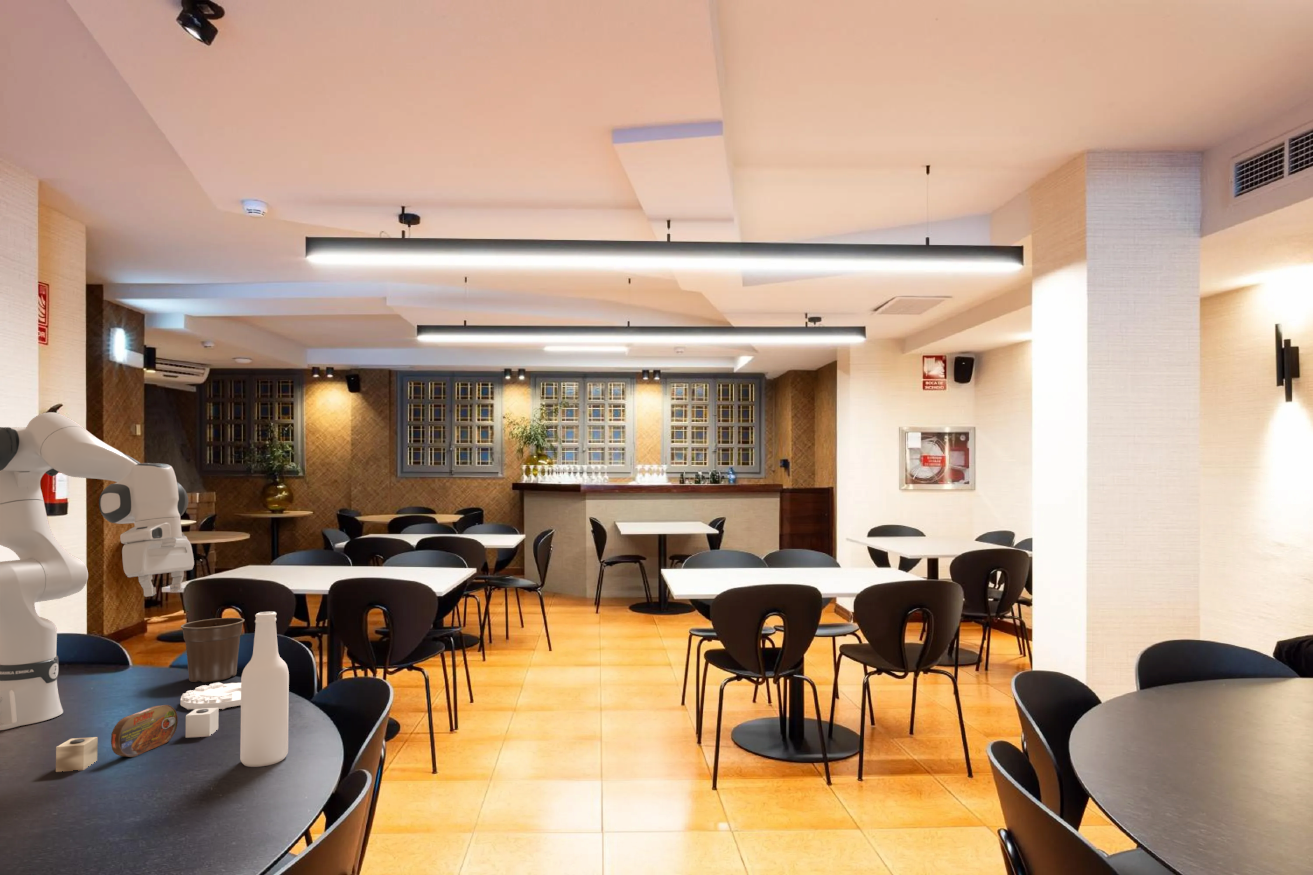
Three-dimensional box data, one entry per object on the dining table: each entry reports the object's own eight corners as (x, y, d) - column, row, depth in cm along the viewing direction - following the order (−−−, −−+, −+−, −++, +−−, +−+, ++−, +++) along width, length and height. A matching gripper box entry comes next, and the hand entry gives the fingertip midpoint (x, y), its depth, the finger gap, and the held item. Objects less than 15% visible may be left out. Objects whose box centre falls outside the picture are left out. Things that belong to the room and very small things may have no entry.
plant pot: (171, 678, 225) (172, 623, 226) (230, 667, 238) (231, 615, 239) (192, 688, 215) (193, 629, 216) (253, 676, 227) (253, 620, 228)
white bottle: (297, 754, 162) (298, 610, 163) (263, 769, 153) (265, 617, 155) (265, 750, 165) (266, 608, 166) (230, 765, 156) (231, 615, 158)
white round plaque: (279, 700, 204) (279, 688, 204) (196, 717, 189) (196, 705, 189) (249, 686, 217) (249, 676, 217) (169, 702, 203) (169, 690, 203)
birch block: (55, 772, 154) (56, 745, 154) (70, 763, 159) (70, 737, 159) (83, 770, 155) (83, 743, 155) (97, 761, 160) (97, 735, 160)
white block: (185, 737, 174) (185, 714, 174) (195, 730, 179) (195, 707, 179) (209, 736, 174) (209, 713, 175) (218, 729, 179) (218, 706, 180)
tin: (119, 762, 159) (120, 721, 159) (107, 762, 159) (108, 720, 160) (178, 738, 173) (179, 700, 174) (167, 737, 174) (167, 699, 174)
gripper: (172, 533, 185) (176, 591, 184) (114, 535, 165) (119, 600, 163) (198, 529, 185) (203, 587, 184) (144, 531, 165) (149, 596, 164)
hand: (163, 593), depth 174 cm, fingers open, 8 cm apart
